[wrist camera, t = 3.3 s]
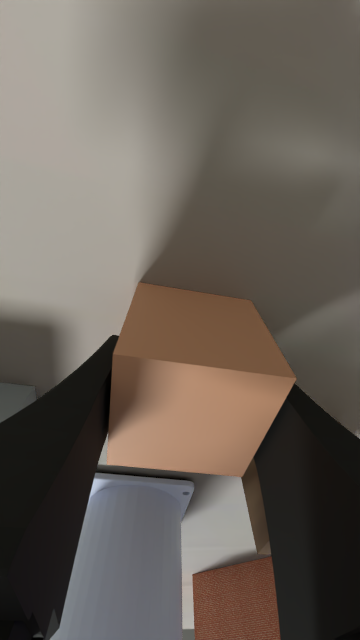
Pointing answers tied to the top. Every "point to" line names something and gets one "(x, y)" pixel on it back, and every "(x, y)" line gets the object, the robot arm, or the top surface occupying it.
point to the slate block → (15, 398)
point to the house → (236, 602)
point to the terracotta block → (193, 383)
